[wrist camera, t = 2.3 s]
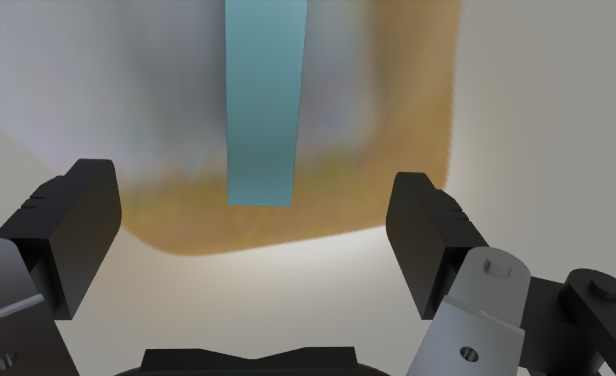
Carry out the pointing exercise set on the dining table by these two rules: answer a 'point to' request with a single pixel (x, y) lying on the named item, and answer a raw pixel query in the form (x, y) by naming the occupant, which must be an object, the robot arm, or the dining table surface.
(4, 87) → the dining table surface
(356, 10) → the dining table surface
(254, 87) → the panel
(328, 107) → the dining table surface
